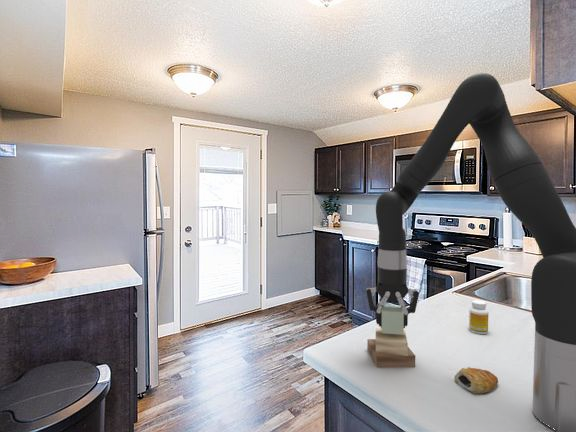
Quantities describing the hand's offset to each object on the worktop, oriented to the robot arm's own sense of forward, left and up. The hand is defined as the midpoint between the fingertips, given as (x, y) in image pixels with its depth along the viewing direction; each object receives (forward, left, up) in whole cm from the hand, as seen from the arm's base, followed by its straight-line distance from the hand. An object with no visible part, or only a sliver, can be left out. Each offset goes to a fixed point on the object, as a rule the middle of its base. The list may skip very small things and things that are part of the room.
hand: (391, 325), depth 89 cm
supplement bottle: (+23, -30, -9) cm, 39 cm away
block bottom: (0, 0, -9) cm, 9 cm away
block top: (0, 0, -6) cm, 6 cm away
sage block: (0, 0, -1) cm, 1 cm away
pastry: (-10, -18, -9) cm, 23 cm away
